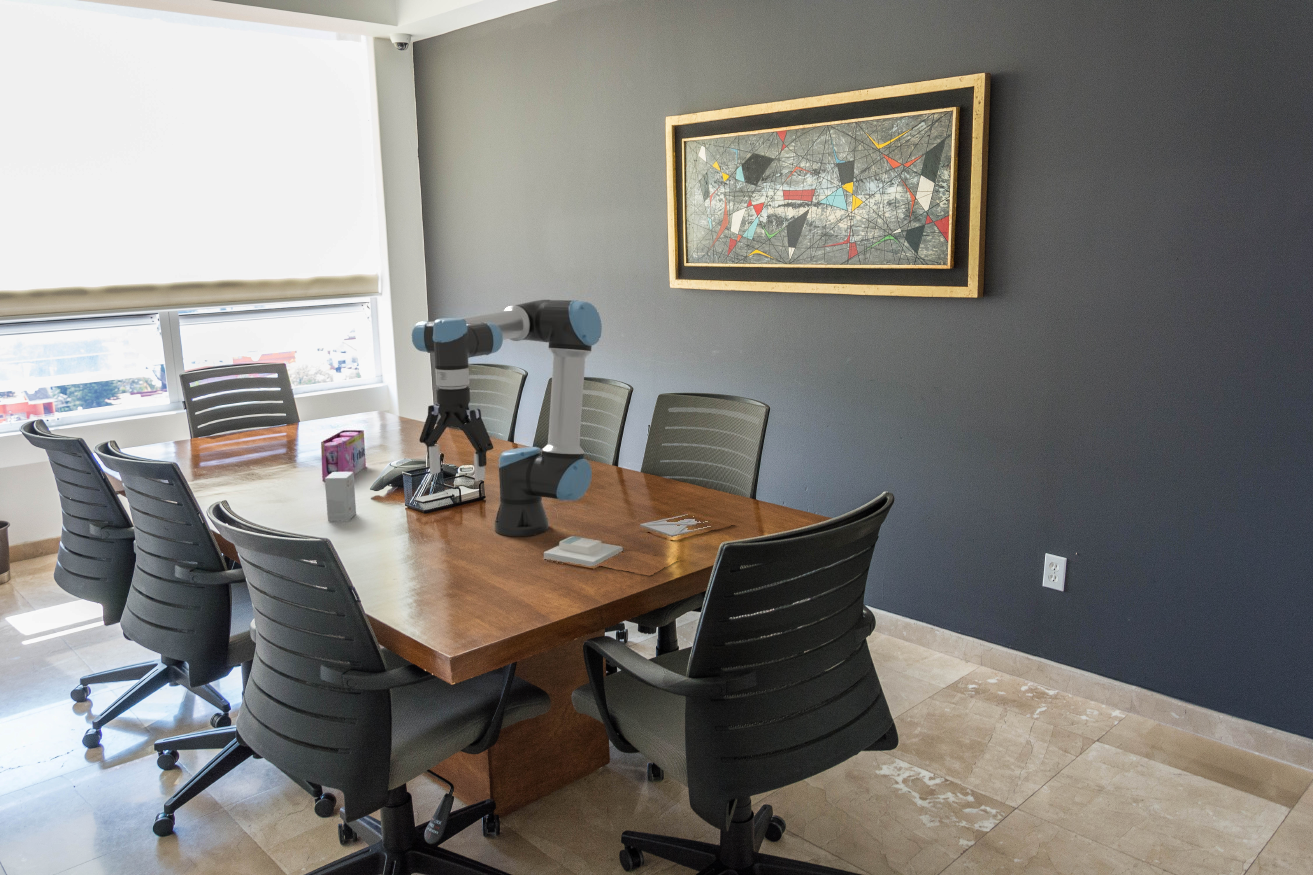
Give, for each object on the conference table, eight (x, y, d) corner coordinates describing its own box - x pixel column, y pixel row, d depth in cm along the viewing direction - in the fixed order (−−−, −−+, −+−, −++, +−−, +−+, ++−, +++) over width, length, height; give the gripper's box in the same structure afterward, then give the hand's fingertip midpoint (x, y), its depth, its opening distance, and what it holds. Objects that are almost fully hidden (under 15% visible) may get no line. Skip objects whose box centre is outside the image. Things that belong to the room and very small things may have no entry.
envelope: (734, 527, 278) (702, 517, 288) (734, 520, 278) (702, 510, 288) (671, 542, 263) (639, 530, 273) (671, 534, 262) (640, 523, 273)
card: (572, 543, 254) (572, 535, 254) (601, 548, 250) (601, 540, 249) (559, 549, 249) (559, 541, 249) (588, 554, 245) (588, 546, 244)
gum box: (343, 482, 327) (341, 443, 324) (320, 482, 327) (317, 443, 324) (366, 466, 350) (364, 429, 347) (344, 466, 350) (342, 429, 348)
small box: (335, 513, 288) (332, 471, 286) (356, 513, 289) (354, 471, 286) (327, 521, 280) (324, 477, 278) (349, 521, 281) (346, 477, 278)
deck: (574, 545, 259) (574, 538, 258) (622, 554, 252) (622, 546, 251) (543, 559, 247) (543, 552, 246) (593, 569, 240) (593, 561, 239)
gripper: (400, 384, 224) (406, 473, 228) (484, 393, 212) (488, 486, 216) (423, 380, 230) (428, 466, 235) (506, 388, 218) (509, 479, 223)
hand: (457, 476), depth 226 cm, fingers open, 13 cm apart
